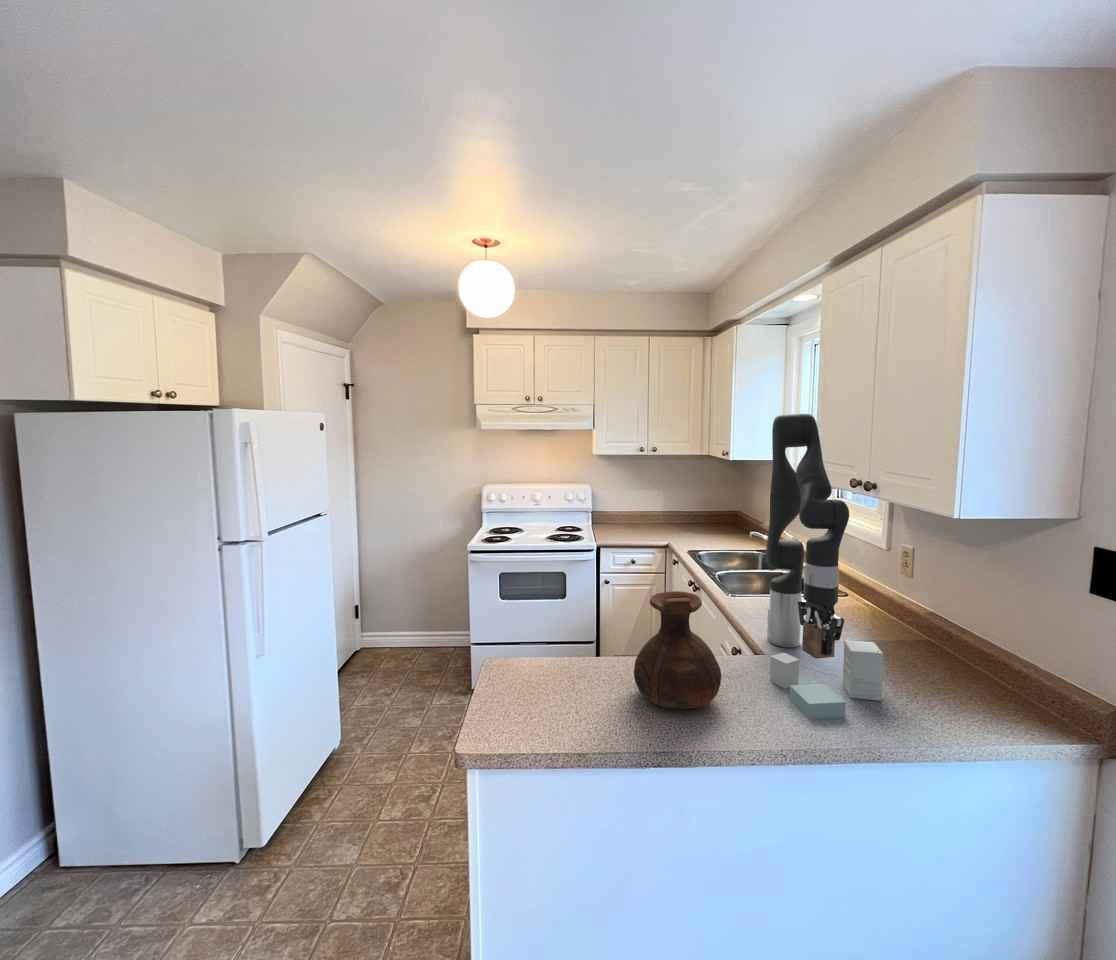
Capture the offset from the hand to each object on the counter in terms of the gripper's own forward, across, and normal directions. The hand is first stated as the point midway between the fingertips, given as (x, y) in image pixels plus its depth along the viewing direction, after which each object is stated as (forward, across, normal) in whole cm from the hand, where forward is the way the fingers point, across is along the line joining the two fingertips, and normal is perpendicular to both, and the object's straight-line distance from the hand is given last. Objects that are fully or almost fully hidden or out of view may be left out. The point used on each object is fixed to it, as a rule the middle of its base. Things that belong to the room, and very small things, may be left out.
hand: (818, 649), depth 128 cm
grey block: (+15, -13, 0) cm, 20 cm away
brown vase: (+15, -11, -32) cm, 37 cm away
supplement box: (+15, -4, +16) cm, 22 cm away
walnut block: (+1, 0, 0) cm, 1 cm away
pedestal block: (+15, 0, 0) cm, 15 cm away
